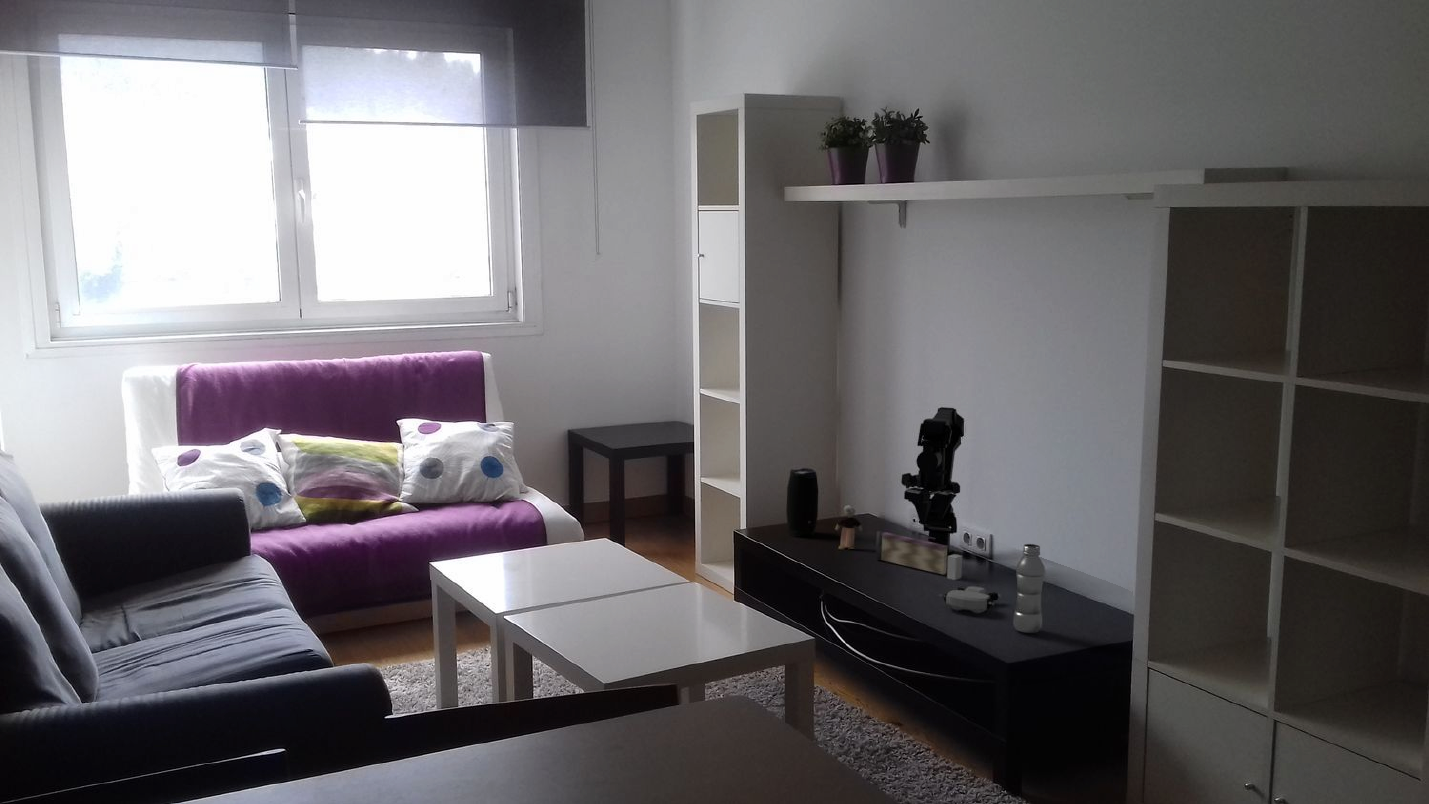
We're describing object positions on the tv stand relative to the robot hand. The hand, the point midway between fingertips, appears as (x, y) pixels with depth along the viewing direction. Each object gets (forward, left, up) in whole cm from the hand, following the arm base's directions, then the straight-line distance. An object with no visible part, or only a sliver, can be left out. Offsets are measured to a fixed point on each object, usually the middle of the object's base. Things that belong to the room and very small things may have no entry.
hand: (931, 521), depth 329 cm
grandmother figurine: (+3, -26, -12) cm, 29 cm away
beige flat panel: (+7, -2, -11) cm, 13 cm away
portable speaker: (0, -46, -12) cm, 47 cm away
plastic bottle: (+33, +48, -12) cm, 60 cm away
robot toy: (+26, +29, -12) cm, 41 cm away
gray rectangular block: (+7, +12, -12) cm, 18 cm away
